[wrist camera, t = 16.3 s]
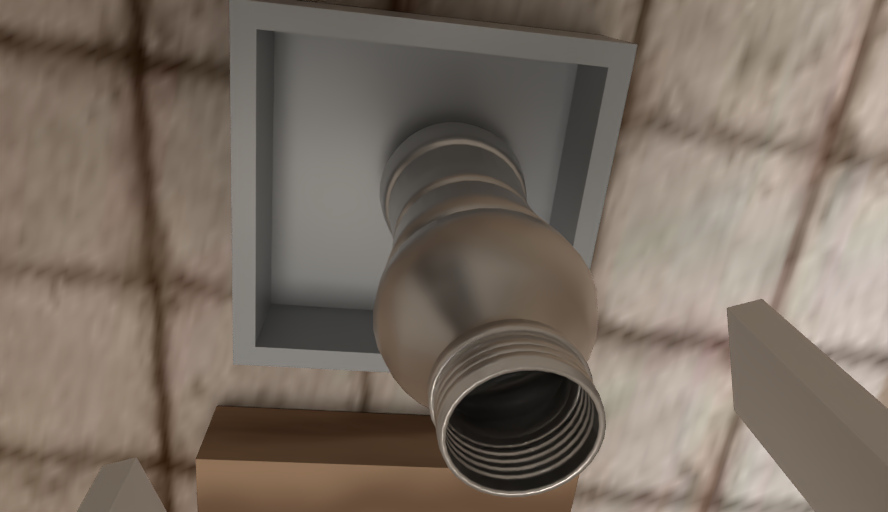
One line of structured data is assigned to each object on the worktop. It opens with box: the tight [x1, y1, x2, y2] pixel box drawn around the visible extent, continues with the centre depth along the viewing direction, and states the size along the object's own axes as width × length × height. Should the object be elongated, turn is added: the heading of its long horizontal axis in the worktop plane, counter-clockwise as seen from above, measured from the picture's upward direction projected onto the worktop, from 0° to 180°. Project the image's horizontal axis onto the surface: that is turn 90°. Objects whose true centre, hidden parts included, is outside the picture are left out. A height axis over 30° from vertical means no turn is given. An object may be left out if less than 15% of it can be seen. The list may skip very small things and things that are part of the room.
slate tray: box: [229, 0, 637, 372], centre depth 31 cm, size 16×16×5 cm
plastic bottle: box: [373, 122, 606, 497], centre depth 24 cm, size 6×7×20 cm
